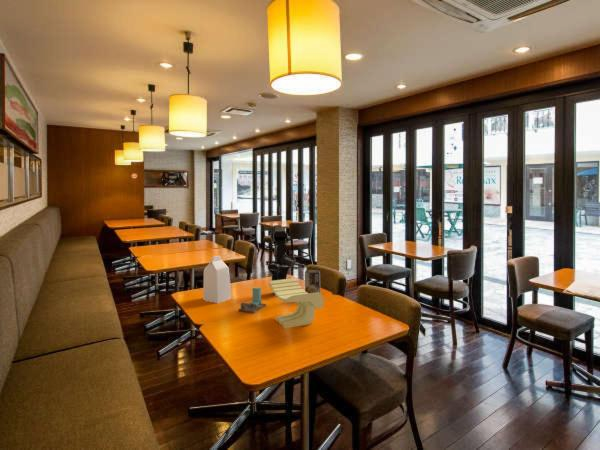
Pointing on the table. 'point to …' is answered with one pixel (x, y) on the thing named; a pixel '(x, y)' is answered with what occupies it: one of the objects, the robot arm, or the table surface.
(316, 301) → the slatted curved stool
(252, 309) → the bracket
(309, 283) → the coffee box
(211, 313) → the table surface
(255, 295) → the teal block
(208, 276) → the milk
